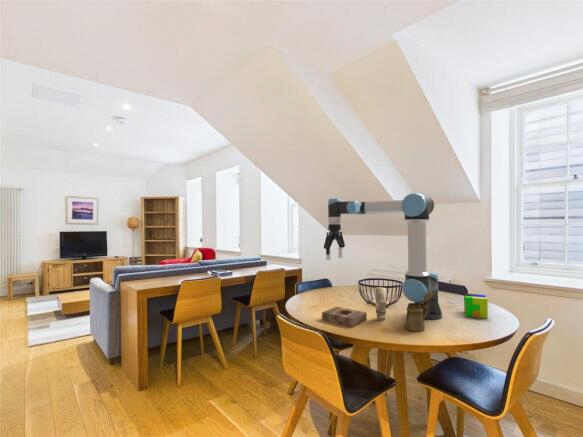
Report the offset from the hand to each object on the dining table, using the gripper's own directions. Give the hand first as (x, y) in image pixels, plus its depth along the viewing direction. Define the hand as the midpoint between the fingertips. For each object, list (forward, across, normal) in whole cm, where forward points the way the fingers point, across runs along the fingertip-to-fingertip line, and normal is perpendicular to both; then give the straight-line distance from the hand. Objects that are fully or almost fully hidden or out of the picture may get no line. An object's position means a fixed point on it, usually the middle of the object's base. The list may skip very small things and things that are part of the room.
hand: (334, 259), depth 192 cm
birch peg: (+28, +9, +33) cm, 44 cm away
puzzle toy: (+28, -31, +69) cm, 81 cm away
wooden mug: (+28, +11, +53) cm, 61 cm away
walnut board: (+28, +22, +19) cm, 40 cm away
